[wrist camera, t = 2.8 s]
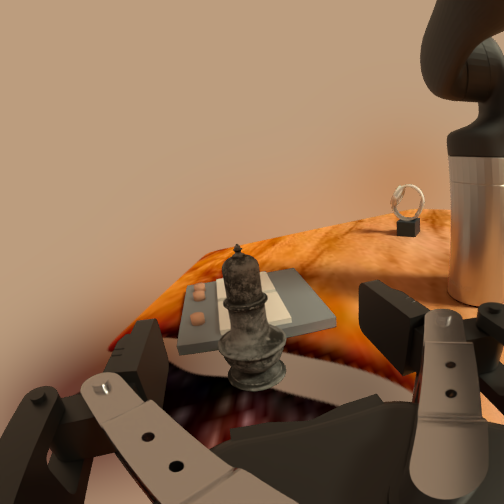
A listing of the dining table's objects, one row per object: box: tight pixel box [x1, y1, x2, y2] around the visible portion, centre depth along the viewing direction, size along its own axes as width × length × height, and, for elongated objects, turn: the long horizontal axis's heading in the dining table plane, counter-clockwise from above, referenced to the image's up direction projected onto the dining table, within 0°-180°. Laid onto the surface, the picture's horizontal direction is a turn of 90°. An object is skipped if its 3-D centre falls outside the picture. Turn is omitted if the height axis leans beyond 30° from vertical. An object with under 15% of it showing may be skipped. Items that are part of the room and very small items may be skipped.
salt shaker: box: [218, 244, 286, 391], centre depth 25 cm, size 6×6×12 cm
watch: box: [390, 184, 425, 237], centre depth 63 cm, size 6×8×11 cm
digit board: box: [177, 268, 336, 355], centre depth 40 cm, size 17×18×2 cm
